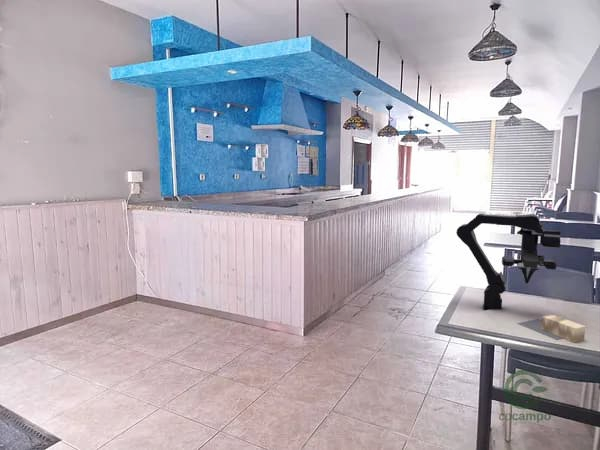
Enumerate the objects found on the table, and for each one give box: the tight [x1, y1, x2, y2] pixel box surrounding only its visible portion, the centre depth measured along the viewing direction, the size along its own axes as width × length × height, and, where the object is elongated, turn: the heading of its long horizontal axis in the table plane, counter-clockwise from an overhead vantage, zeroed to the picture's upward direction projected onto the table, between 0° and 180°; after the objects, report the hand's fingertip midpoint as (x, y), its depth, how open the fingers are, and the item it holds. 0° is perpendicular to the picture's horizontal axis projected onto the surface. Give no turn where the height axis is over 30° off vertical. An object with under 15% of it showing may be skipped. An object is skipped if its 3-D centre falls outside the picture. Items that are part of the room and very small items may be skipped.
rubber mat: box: [516, 318, 564, 341], centre depth 146 cm, size 16×12×1 cm
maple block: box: [541, 314, 586, 343], centre depth 140 cm, size 5×5×12 cm
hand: (526, 283), depth 160 cm, fingers closed
